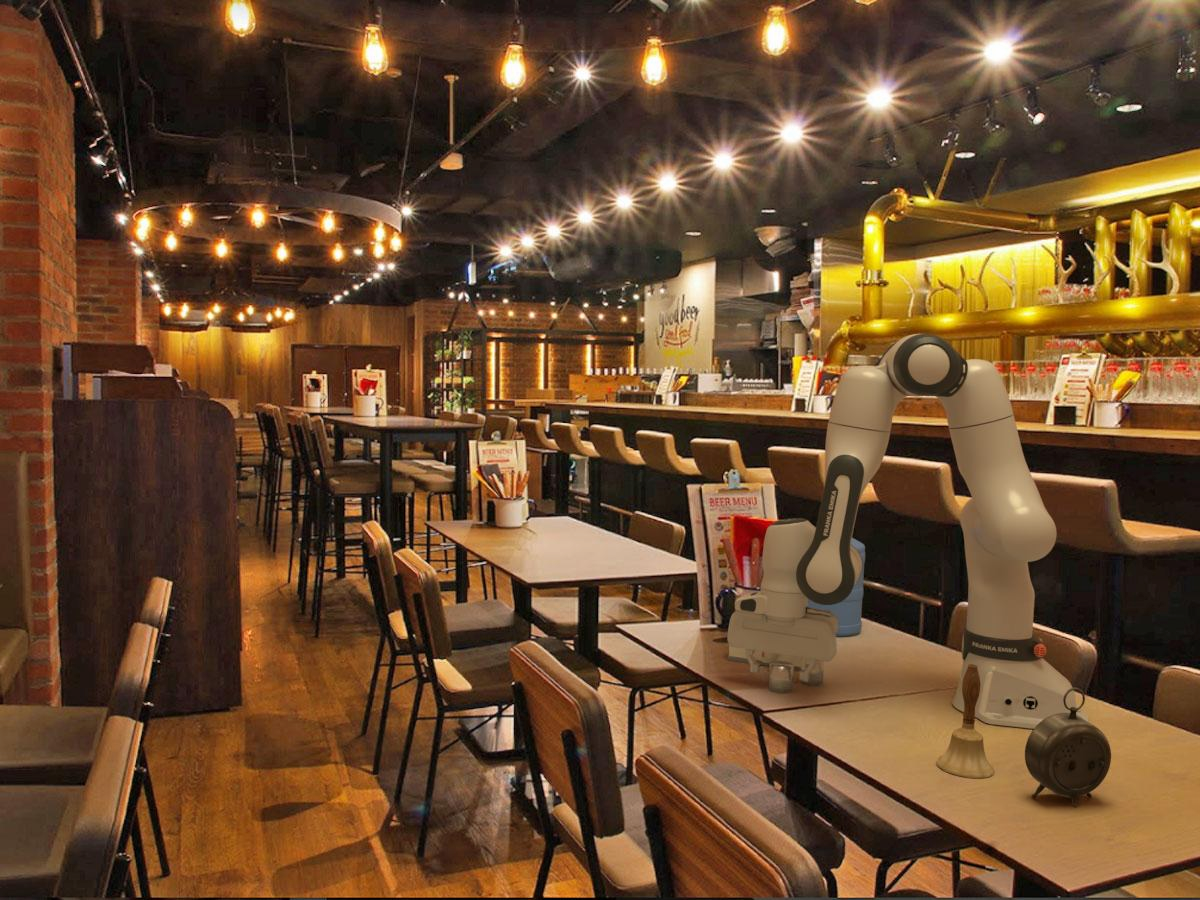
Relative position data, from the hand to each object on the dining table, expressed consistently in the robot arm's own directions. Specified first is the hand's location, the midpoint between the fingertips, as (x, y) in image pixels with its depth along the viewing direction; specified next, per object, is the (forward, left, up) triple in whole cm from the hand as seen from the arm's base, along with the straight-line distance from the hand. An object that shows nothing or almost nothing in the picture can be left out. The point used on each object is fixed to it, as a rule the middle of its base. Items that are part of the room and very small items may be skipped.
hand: (779, 676), depth 187 cm
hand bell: (-35, +24, -3) cm, 43 cm away
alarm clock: (-49, +30, -3) cm, 58 cm away
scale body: (+7, -21, -3) cm, 23 cm away
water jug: (+3, -54, -3) cm, 55 cm away
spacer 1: (0, 0, -3) cm, 3 cm away
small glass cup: (-4, -8, -3) cm, 10 cm away
